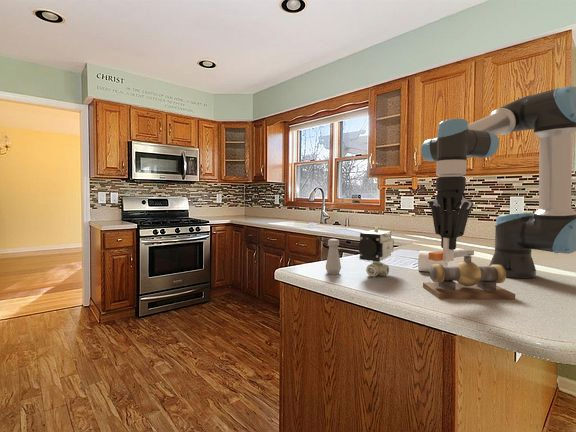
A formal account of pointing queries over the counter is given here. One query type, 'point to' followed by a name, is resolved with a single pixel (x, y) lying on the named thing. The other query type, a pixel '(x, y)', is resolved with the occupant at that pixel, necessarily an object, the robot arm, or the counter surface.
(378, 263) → the ball valve
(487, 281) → the valve mount
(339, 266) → the salt shaker
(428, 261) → the white rectangular block
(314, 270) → the counter surface
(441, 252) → the lever
